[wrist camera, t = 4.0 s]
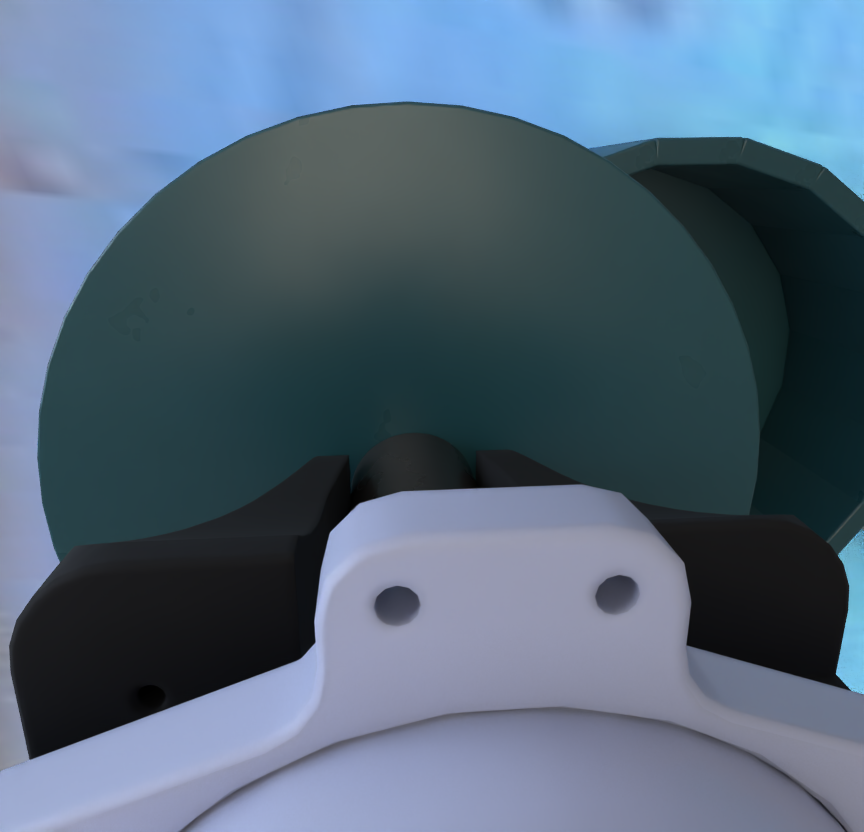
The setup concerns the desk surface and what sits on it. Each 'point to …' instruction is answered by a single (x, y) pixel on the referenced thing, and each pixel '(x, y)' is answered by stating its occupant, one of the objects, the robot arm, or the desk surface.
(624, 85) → the desk surface
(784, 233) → the pot
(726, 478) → the pot lid
